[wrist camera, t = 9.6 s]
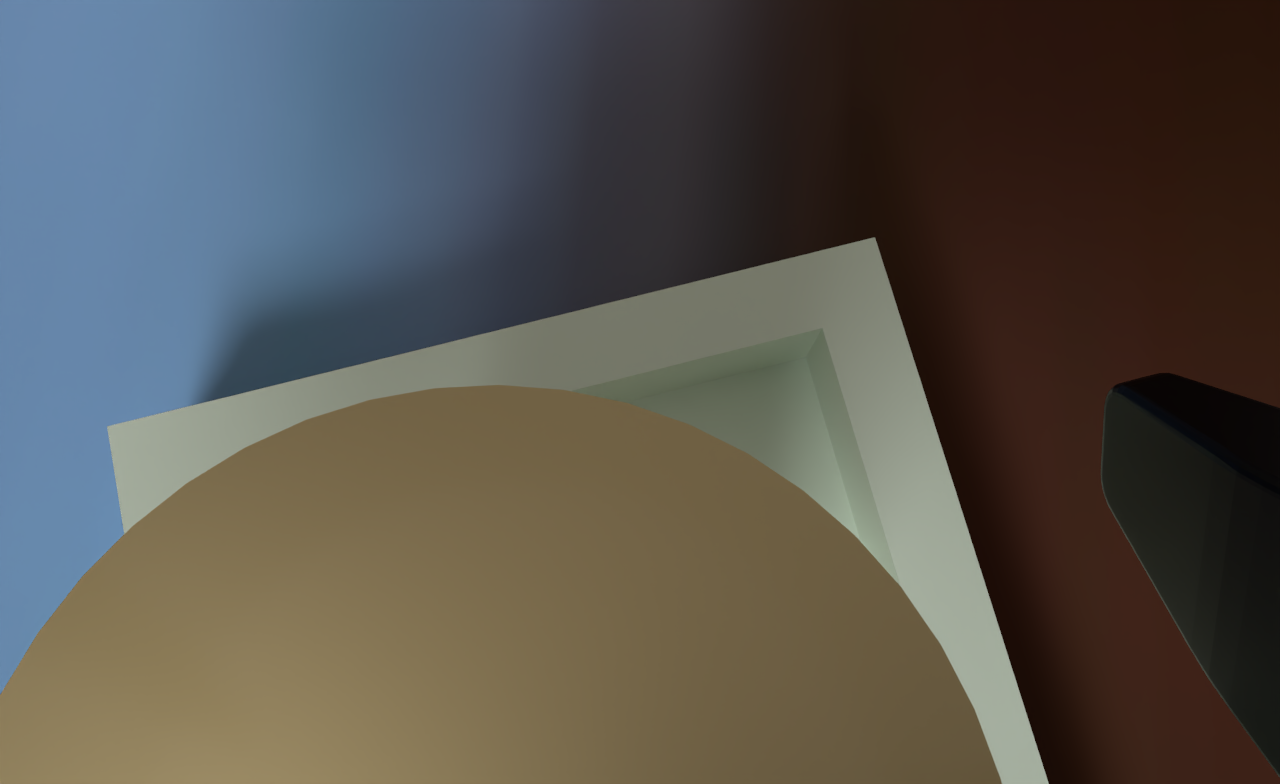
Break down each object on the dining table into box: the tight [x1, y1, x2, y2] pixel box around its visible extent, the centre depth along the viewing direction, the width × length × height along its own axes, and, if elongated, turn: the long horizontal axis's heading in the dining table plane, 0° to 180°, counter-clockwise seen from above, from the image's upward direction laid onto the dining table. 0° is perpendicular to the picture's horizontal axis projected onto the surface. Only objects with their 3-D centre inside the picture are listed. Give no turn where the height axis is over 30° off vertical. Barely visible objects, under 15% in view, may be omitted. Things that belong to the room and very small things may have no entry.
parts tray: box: [107, 237, 1049, 784], centre depth 14 cm, size 10×10×2 cm
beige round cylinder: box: [0, 385, 1002, 784], centre depth 10 cm, size 4×4×11 cm
